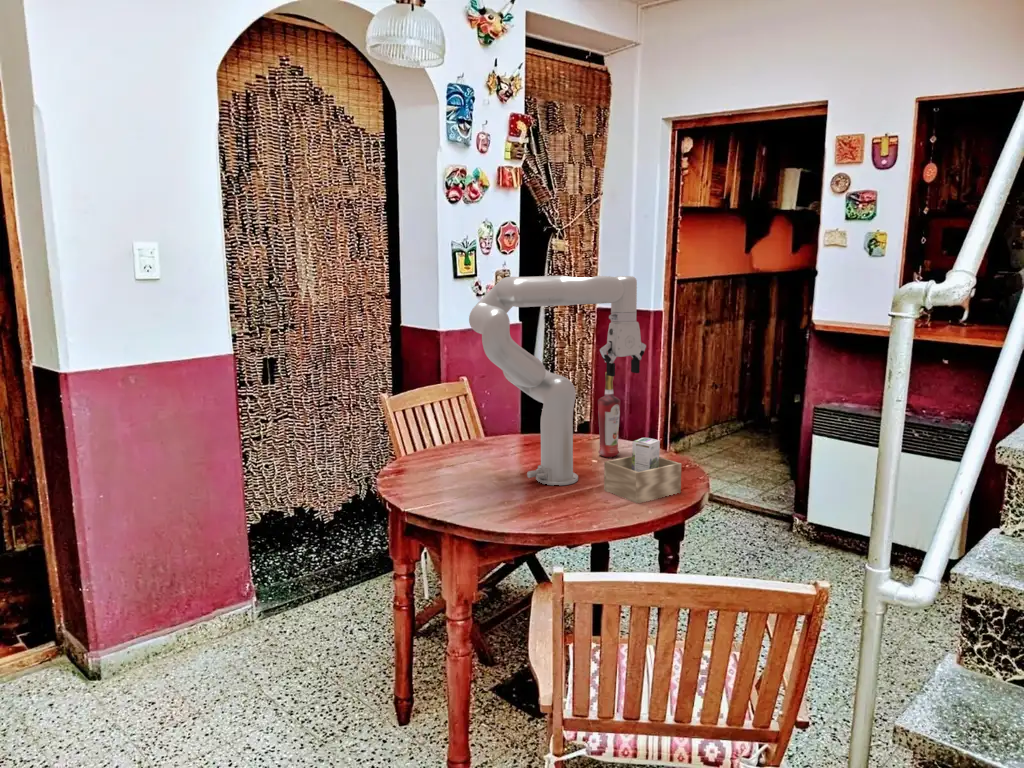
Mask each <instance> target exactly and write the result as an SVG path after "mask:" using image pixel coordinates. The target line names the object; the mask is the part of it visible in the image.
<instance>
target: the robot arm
mask: <svg viewBox="0 0 1024 768" xmlns="http://www.w3.org/2000/svg"><path fill="white" fill-rule="evenodd" d="M637 281H638V280H637V278H636V277H635V276H633V275H630V276H629V275H622V276H621V275H620V276H619V275H617V276H611V275H609V276H607V275H594V276H592V277H589V276H588V277H578V276H568V275H545V276H544V275H542V276H541V275H539V276H506V277H503V278H502V279H500V280H499V281H498V282H497V283H496V284H495V285H494V286H493V287H492V288H491V289H490V290H489V291H488V292H487V293H486V294H485V295H484V296H483V297H482V298H481V299H480V300H479V301H478V302H477V303H476V304H475V306H473V308H472V310H471V311H470V313H469V315H468V316H469V317H468V322H469V326H470V327H471V329H472V330H473V331H474V332H476V333H477V334H480V335H481V342H482V344H481V345H482V347H483V351H484V354H485V356H486V357H487V358H488V359H489V361H490V362H491V363H492V364H494V365H495V366H496V367H497V368H499V369H500V370H501V371H502V373H503V376H504V377H505V379H506V380H507V381H508V382H510V383H511V384H513V385H514V386H515V387H517V389H519V390H520V391H522V393H525V394H526V395H527V396H529V397H530V398H532V399H533V400H535V401H537V402H538V403H542V404H543V405H542V409H541V410H542V411H541V415H540V425H539V426H540V464H539V465H537V468H536V469H535V470H528V471H527V473H526V476H527V478H528V479H530V478H535V480H537V481H538V482H537V481H536V482H537V483H539V482H540V483H539V484H541V483H542V485H545V484H547V486H554V485H559V486H560V487H561V486H568V485H572V484H573V485H574V484H575V483H577V482H578V480H579V475H578V474H577V473H575V472H574V428H573V427H574V424H573V423H574V422H573V421H574V420H573V419H574V408H575V403H576V395H577V394H576V393H577V392H576V388H575V385H574V384H573V382H572V381H571V380H570V379H569V378H567V377H565V376H564V375H561V374H557V373H554V372H551V371H549V370H548V369H546V367H545V365H544V363H543V362H542V361H541V360H540V359H539V358H538V357H536V356H534V355H533V354H531V353H530V352H528V351H527V350H526V349H525V348H523V347H521V346H520V345H519V344H518V343H517V342H516V341H515V340H514V339H513V337H512V336H511V334H510V330H511V329H510V327H511V325H510V323H511V322H510V317H509V315H508V314H507V313H509V311H510V310H512V308H513V307H515V308H530V307H533V308H535V307H553V306H554V307H557V306H558V307H559V306H577V305H598V304H600V305H602V304H610V314H609V315H608V319H609V320H610V322H609V325H608V331H607V339H606V344H605V345H603V346H602V347H601V348H599V352H600V354H601V358H602V359H603V360H604V363H606V367H605V368H606V371H605V373H606V372H607V376H612V377H613V378H614V377H615V376H616V363H615V360H616V359H617V358H619V357H621V358H622V357H631V358H632V359H631V360H630V372H631V373H632V374H640V372H641V371H640V369H641V367H640V364H641V360H642V357H643V355H644V354H645V351H646V349H647V344H645V343H644V342H642V339H641V337H642V336H641V328H640V323H639V321H637V308H638V307H637V302H638V300H637V297H638V296H637V295H638V293H637V291H638V290H637V289H638V287H637V285H638V283H637ZM559 486H558V487H559Z"/></svg>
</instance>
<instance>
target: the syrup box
mask: <svg viewBox="0 0 1024 768" xmlns="http://www.w3.org/2000/svg"><path fill="white" fill-rule="evenodd" d="M660 444H661V442H660V440H659V439H655V438H651V437H641V438H638V439H635V440H633V441H632V447H631V448H632V449H631V450H632V451H631V453H632V455H631V456H632V470H634V471H637V472H641V471H645V470H650V469H654V468H659V457H660V447H661V445H660Z"/></svg>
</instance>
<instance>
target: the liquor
mask: <svg viewBox="0 0 1024 768" xmlns="http://www.w3.org/2000/svg"><path fill="white" fill-rule="evenodd" d="M604 374H605V375H604V376H605V378H604V379H605V387H604V396H602V397H600V398H598V399H597V408H598V412H597V413H598V427H599V429H598V430H599V450H598V453H599V455H600V456H601V457H603V458H607V457H612V458H614V457H616V456H617V455H618V454H619V453H620V451H619V427H620V416H621V399H619V398H618V397H617V396H616V395H615V394H614V384H613V381H614V376H613V377H612V376H607V372H606V371H605V373H604Z"/></svg>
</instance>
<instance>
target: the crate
mask: <svg viewBox="0 0 1024 768" xmlns="http://www.w3.org/2000/svg"><path fill="white" fill-rule="evenodd" d="M603 467H604V474H603V475H604V477H603V478H604V479H603V481H604V482H603V484H604V485H603V486H604V487H603V490H605V491H604V492H607V493H609V492H610V493H609V494H612V493H613V494H612V495H614V494H615V495H614V496H617V495H618V496H617V497H619V496H620V497H619V498H622V497H623V499H624V498H626V499H625V500H627V499H628V500H627V501H630V502H632V501H633V502H632V503H635V504H637V503H639V504H642V502H643V503H646V501H647V502H650V500H651V501H654V499H655V500H659V499H661V498H662V497H663V498H665V496H667V497H670V496H669V495H671V496H674V495H673V494H675V495H678V494H677V493H679V494H681V491H682V463H681V462H677V461H675V460H670V459H667V458H664V457H661V456H659V468H654V469H650V470H645V471H641V472H637V471H634V470H632V455H631V456H625V457H621V458H616V459H612V460H611V459H610V460H607V461H604V465H603ZM658 498H659V499H658Z"/></svg>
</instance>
